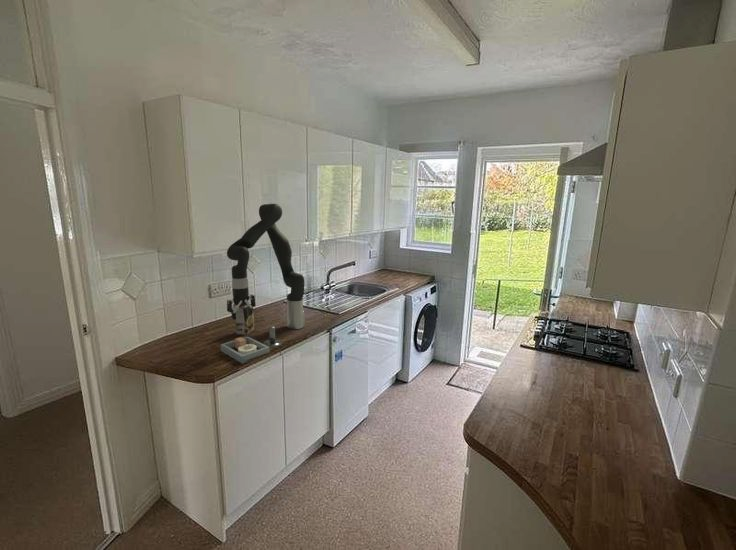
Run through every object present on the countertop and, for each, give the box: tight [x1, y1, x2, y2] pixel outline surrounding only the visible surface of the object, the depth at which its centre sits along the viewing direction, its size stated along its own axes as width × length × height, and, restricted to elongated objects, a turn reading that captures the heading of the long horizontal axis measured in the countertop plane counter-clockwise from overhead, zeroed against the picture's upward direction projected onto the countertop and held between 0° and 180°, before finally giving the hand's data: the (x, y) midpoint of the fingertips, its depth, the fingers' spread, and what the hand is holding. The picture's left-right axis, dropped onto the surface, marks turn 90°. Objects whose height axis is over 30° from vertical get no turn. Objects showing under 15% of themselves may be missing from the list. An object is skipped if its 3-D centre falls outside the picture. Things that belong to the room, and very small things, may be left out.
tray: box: [220, 336, 271, 365], centre depth 179 cm, size 15×20×4 cm
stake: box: [262, 325, 283, 348], centre depth 189 cm, size 10×10×10 cm
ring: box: [234, 336, 258, 355], centre depth 179 cm, size 9×13×5 cm, turn 49°
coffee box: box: [235, 303, 255, 336], centre depth 203 cm, size 9×6×16 cm
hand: (242, 317), depth 181 cm, fingers open, 8 cm apart
